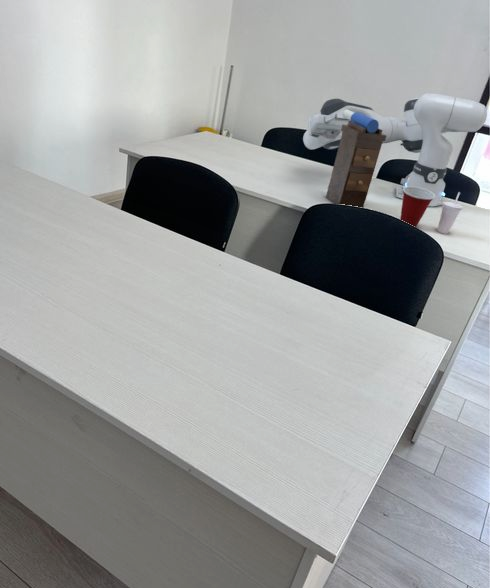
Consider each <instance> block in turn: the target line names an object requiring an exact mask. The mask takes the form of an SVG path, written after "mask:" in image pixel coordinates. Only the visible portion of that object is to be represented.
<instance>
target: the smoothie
mask: <svg viewBox="0 0 490 588" xmlns="http://www.w3.org/2000/svg"><path fill="white" fill-rule="evenodd" d="M460 195H461V192H460V191H458V193H457V195H456V198H455V199H454V200H455V201H454V202H452V201H443V205H441V206H442V209H441V213H440V217H439V222H438V226H437V230H436V231H437V232H439V233H440V234H445V235H448V234H449V233H450V231H451V228H452V227H453V225H454V223H455V221H456V219H457V217H458V216H459V213H460V212H461V211H462V210H463V206H462V205H461V204H459V203H457V202H458V199H459V196H460Z"/></svg>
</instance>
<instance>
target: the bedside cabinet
mask: <svg viewBox="0 0 490 588" xmlns="http://www.w3.org/2000/svg"><path fill="white" fill-rule="evenodd" d="M341 130H342V131H343V132H342V136H341V140H340V144H339V148H337V152H336V156H335V160H334V164H333V168H332V172H331V175H330V180H329V183H328V187H327V191H326V195H325V198H326V199H327V200H328V201H330V202H332V203H333V204H334V205H335V204H345V205H352V206H358V207H363V208H364V207H365V203H366V200H367V196H368V194H369V193H368V192H369V190H370V186H371V183H372V179H373V176H374V173H375V169H376V166H377V162H378V159H379V155H380V152H381V149H382V145H383V144H382V142H383V141H385V139H386V136H387V135H385V134H383V133H382V131H383V130H381V129H379V128H378V129H377V131H376V132H374V133H369V132H367V131H366V128H364V127H362V126H360V125H358V124H356V123H354V122H352V121H349V122H348V125H344V124H342V128H341Z"/></svg>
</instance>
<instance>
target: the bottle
mask: <svg viewBox="0 0 490 588" xmlns="http://www.w3.org/2000/svg"><path fill="white" fill-rule="evenodd" d="M343 117H344V118H346V119H348V120H350V121H352V122H354V123H356V124H358V125H360V126H362V127H364V128H366V131H367V132H369V133H374V132H376V131H377V129H378V127H379V123H378V121H377V120H375V119H373V118H371V117H368V116H366V115H364V114H362V113H360V112H356V113H354V112H352V111H350V110H345V111H344V112H343Z"/></svg>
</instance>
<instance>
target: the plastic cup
mask: <svg viewBox="0 0 490 588" xmlns="http://www.w3.org/2000/svg"><path fill="white" fill-rule="evenodd" d="M403 191H404V194H403V199H402V204H401V211H400V217H399V218H400V219H401V220H403V221H405V222H407V223H409V224H411V225H413V226H415V227H414V228H417V227H418V225H419V223H420V221H421V219H422V218H423V216H424V214H425V213H426V211H427V209H428V207H429V206H428V205H429V204H430V202H431V201H432V199H434V197H435V194H434V193H432V192H431V191H429V190H427V189H423V188H420V187H414V186H408V187H404V188H403ZM400 219H399V220H400Z"/></svg>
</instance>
